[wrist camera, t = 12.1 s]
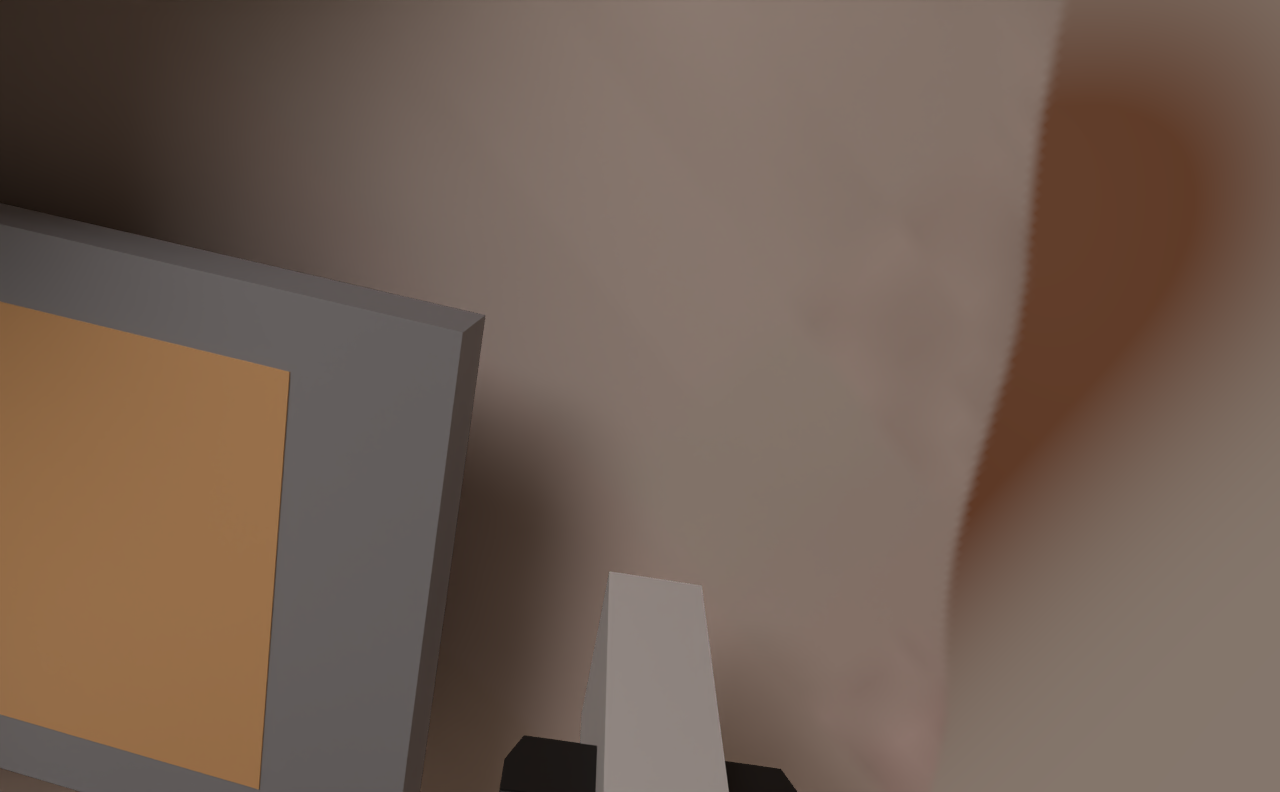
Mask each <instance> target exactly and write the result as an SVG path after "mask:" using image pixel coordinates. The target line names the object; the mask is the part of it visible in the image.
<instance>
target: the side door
mask: <svg viewBox="0 0 1280 792" xmlns="http://www.w3.org/2000/svg"><path fill="white" fill-rule="evenodd" d="M484 322H485V315H482V314H478V313H473V312H469V311H465V310H461V309H456V308H452V307H448V306H443V305H439V304H435V303H430V302H426V301H422V300H417V299H413V298H409V297H404V296H400V295H396V294H391V293H387V292H383V291H378V290H374V289H370V288H365V287H361V286H357V285H353V284H348V283H344V282H340V281H335V280H331V279H327V278H322V277H318V276H314V275H309V274H305V273H301V272H296V271H292V270H288V269H283V268H279V267H275V266H270V265H266V264H262V263H257V262H253V261H249V260H245V259H240V258H236V257H232V256H227V255H223V254H219V253H214V252H210V251H206V250H201V249H197V248H193V247H188V246H184V245H180V244H175V243H171V242H167V241H162V240H158V239H154V238H149V237H145V236H141V235H137V234H132V233H128V232H124V231H119V230H115V229H111V228H106V227H102V226H98V225H93V224H89V223H85V222H80V221H76V220H72V219H67V218H63V217H59V216H54V215H50V214H46V213H41V212H37V211H33V210H29V209H24V208H20V207H16V206H11V205H7V204H3V203H0V768H2V769H6V770H9V771H12V772H16V773H19V774H22V775H26V776H29V777H33V778H36V779H39V780H43V781H46V782H49V783H53V784H56V785H59V786H63V787H66V788H70V789H73V790H76V791H80V792H420V788H421V781H422V774H423V766H424V759H425V752H426V745H427V737H428V730H429V723H430V715H431V708H432V701H433V694H434V686H435V679H436V672H437V664H438V657H439V650H440V643H441V635H442V628H443V621H444V613H445V606H446V599H447V592H448V584H449V577H450V570H451V562H452V555H453V548H454V541H455V533H456V526H457V519H458V511H459V504H460V497H461V490H462V482H463V475H464V468H465V460H466V453H467V446H468V439H469V431H470V424H471V417H472V409H473V402H474V395H475V388H476V380H477V373H478V366H479V358H480V351H481V344H482V337H483V329H484Z"/></svg>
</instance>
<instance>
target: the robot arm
mask: <svg viewBox="0 0 1280 792" xmlns="http://www.w3.org/2000/svg"><path fill="white" fill-rule="evenodd" d="M499 792H797V791H796V789H795V788H794V787H793V785H792V784H791V782H790V781H789V780H788V778H787V777H786V776H785V774H784V773H783V771H782V770H781V769H777V768H770V767H763V766H756V765H749V764H742V763H735V762H727V761H725V758H724V751H723V743H722V736H721V728H720V720H719V713H718V705H717V698H716V690H715V683H714V675H713V667H712V660H711V652H710V645H709V637H708V629H707V622H706V614H705V607H704V599H703V591H702V585H696V584H689V583H683V582H676V581H670V580H663V579H657V578H650V577H644V576H637V575H631V574H624V573H617V572H611V571H609V576H608V581H607V586H606V591H605V596H604V601H603V606H602V611H601V617H600V622H599V627H598V632H597V637H596V642H595V647H594V652H593V658H592V663H591V668H590V673H589V678H588V683H587V688H586V694H585V699H584V704H583V709H582V717H581V734H580V743H574V742H567V741H560V740H553V739H546V738H539V737H532V736H525V735H524V736H523V737H522V739H521V740H520V741H519V742H518V743H517V745H516V746H515V747H514V748H513V750H512V751H511V752H510V753H509V754H508V756H507V757H506V758H505V760H504V766H503V772H502V778H501V784H500V790H499Z"/></svg>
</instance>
